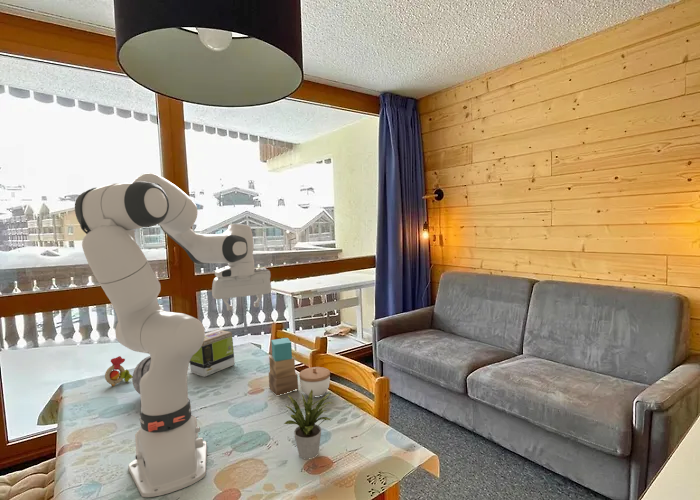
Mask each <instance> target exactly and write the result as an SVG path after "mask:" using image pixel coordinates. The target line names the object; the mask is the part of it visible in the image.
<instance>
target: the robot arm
mask: <svg viewBox="0 0 700 500" xmlns="http://www.w3.org/2000/svg"><path fill="white" fill-rule="evenodd" d="M74 212H75V216H76V220H77V222H78V223H79V226H80V229H81V230H82V231H83V232H84V233H85V236H84V237H83V239H82V243H81V246H82V251H83V253H84V254H83V255H84V256H85V259H86V261H87V264H88V266H89V267H90V271H91V272H92V274H93V276H94V277H95V279H96V281H97V282H98V284H99V285H100V286H101V289H102V290H103V292H104V293H105V295H106V297H107V299H109V301H110V303H111V305H112V307H113V309H114V311H115V314H116V318H117V323H116V326H115V331H114V332H115V333H114V334H115V337H116V340H117V341H118V343H120V344H121V346H124V347H125V348H127V349H129V350H131V351H134V352H137V353H143V354H148V355H149V356H151V364H150V369H149V371H148V372H147V373H145V374H144V375H143V376H142V378H141V380H140V384H139V385H140V394H139V396H140V397H139V398H140V406H141V408H140V410H139V421H140V427H139V429H138V430H137V431H136V432H135V434H134V436H135V437H134V440H135V441H134V442H135V453H136V454H135V459H133V460H132V461H131V462H129V463H128V467H127V469H128V471H129V474H130V476H131V478H132V480H133V482H134V484H135V486H136V488H137V489H138V490H137V491H138V492H139V493H140V495H141V497H143V498H153V497H158V496H163V495H168V494H171V493H173V492H176V491H180V490H182V489H184V488H186V487H189V486H191V485H193V484H195V483H197V482H199V481H200V480H202V479H203V478H205V477H206V476H207V458H208V457H207V456H208V444H207V441H206V440H203V437H199V433H201V427H200V426H198V420H197V417H195V415H193V414H192V405H191V399H189V393H188V371H189V367H190V360H191V358H192V356H193V355H194V354H195V353H196V352H197V351H198V350H199V349H200V348H201V346H202V344H203V342H204V338H205V333H206V332H205V327H204V325H203V323H202V321H201V320H200V319H198V318H196V317H194V316H192V315H189V314H186V313H182V312H175V311H166V310H164V309H163V308H162V307H161V306H160V305H159V301H158V296H159V294H160V293H161V290H162V289H161V287H162V286H161V282H160V280H159V279H158V277H157V276H156V274H155V271H154V270H153V268H152V265H150V263H149V260H148V259H147V257H146V255H145V254H144V252H143V250H142V249H141V247H140V246H139V245H138V243H137V240H136V236H135V235H136V234H135V230H138V229H143V228H150V227H154V226H156V225H159V228H160V229H161V230H162V231H163V232H164V233H165V235H167V236H168V237H169V238H170V239H171V240H173V241H174V242H175V244H177V245H178V246H180V247H181V248H182V249H183V250H184V251H185V253H186V254H187V256H188V257H189V259H190V260H191V261H192V262H194V264H198V265H201V264H227V265H226V266H223V267H221V268H218V269H216V270H214V276H215V277H214V278H213V281H212V285H211V286H212V287H211V295H212V298H214V299H215V300H222V301H223V303H224V305H225V306H226V311H227V312H231V311H233V305H232V304H229V299H232V298H242V297H250V296H255V297H256V300H255V301H254V302H253V307H254V308H259V307H260V303H261V300H262V298H263V295H268V294H270V293H271V292H272V285H271V284H272V283H271V276H272V274H271V271H270V270H269V269H267V268H265V267H263V268H255V259H254V254H253V253H254V249H255V248H254V238H253V237H254V235H253V232H252V228H251V226H250V225H248V224H245V223H230V224H229V225H228V228H227V230H225V231H224V232H222V233H214V234H212V233H211V234H209V233H206V234H204V233H196V232H195V231H194V230H193V229H192V227H193V226H194V224H195V223H196V221H197V217H198V207H197V204H196V203H195V201H194V199H192V198H191V197H190V196H189V195H188V194H187V193H186V192H184V191H183V190H182V189H181V188H179V187H178V186H177V185H176V184H174V183H172V182H171V181H170V180H168V179H166V178H165V177H162V175H161V176H160V175H159V174H156V173H153V172H146V173H141V175H139V176H137V177H136V178H134V180H133V181H132V182H124V183H120V182H119V183H112V184H111V183H110V184H106V185H103V186H100V187H92V188H90V189H87V190H86V191H85V190H84V191H83V192H82V193H80V194H79V195H78V196H77V198H76V200H75V202H74Z"/></svg>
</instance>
